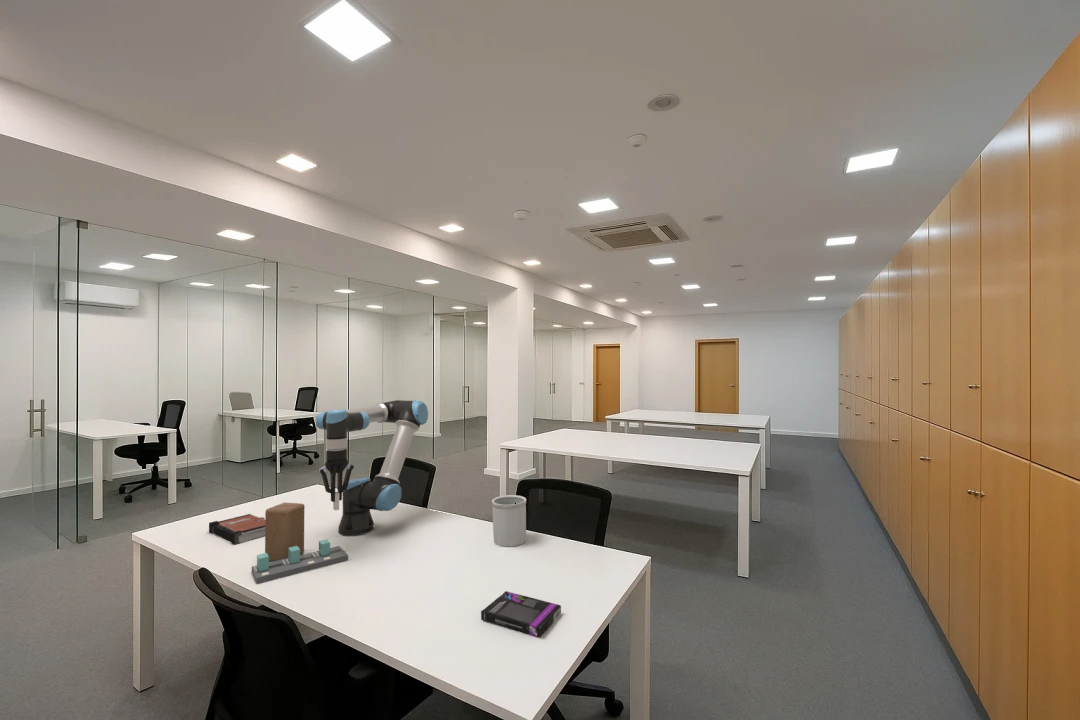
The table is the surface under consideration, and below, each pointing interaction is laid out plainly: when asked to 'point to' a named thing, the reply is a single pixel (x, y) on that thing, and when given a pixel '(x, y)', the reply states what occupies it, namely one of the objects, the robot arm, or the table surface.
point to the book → (239, 528)
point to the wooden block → (284, 530)
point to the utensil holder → (509, 520)
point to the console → (299, 565)
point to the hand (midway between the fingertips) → (336, 509)
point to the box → (521, 613)
